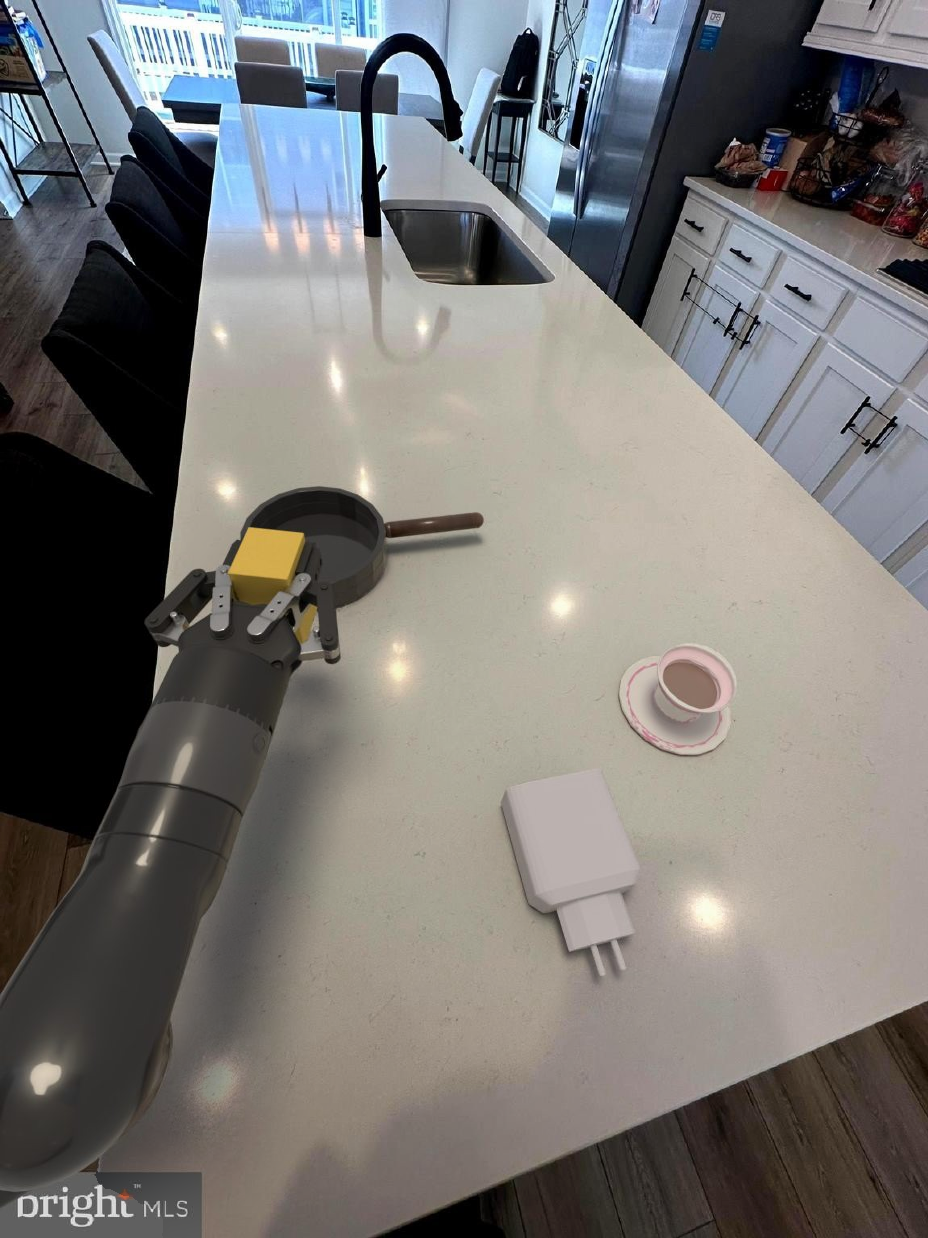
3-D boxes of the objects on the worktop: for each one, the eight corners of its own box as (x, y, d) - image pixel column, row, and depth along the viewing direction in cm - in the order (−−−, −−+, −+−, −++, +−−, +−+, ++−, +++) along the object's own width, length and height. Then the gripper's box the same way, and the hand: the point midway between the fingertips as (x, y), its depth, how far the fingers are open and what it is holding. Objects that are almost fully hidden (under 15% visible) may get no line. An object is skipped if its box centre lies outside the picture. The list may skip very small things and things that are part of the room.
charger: (550, 992, 44) (499, 804, 52) (656, 962, 45) (590, 785, 54) (563, 987, 40) (506, 785, 48) (679, 954, 42) (604, 766, 50)
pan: (250, 620, 63) (241, 594, 59) (247, 520, 72) (239, 493, 69) (396, 600, 66) (396, 574, 63) (375, 507, 76) (374, 480, 72)
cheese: (305, 649, 48) (287, 579, 41) (254, 643, 48) (227, 573, 41) (318, 604, 51) (304, 532, 44) (270, 599, 51) (248, 526, 44)
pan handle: (383, 542, 68) (382, 530, 67) (380, 531, 70) (379, 519, 68) (484, 530, 71) (486, 518, 70) (480, 519, 72) (482, 508, 71)
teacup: (694, 780, 55) (722, 754, 50) (596, 703, 60) (613, 673, 55) (747, 705, 61) (777, 675, 56) (654, 640, 66) (673, 607, 61)
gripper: (119, 749, 38) (207, 567, 49) (327, 769, 38) (371, 584, 49) (66, 693, 32) (180, 500, 43) (313, 718, 32) (366, 520, 43)
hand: (281, 545), depth 46 cm, fingers closed on cheese, 4 cm apart
